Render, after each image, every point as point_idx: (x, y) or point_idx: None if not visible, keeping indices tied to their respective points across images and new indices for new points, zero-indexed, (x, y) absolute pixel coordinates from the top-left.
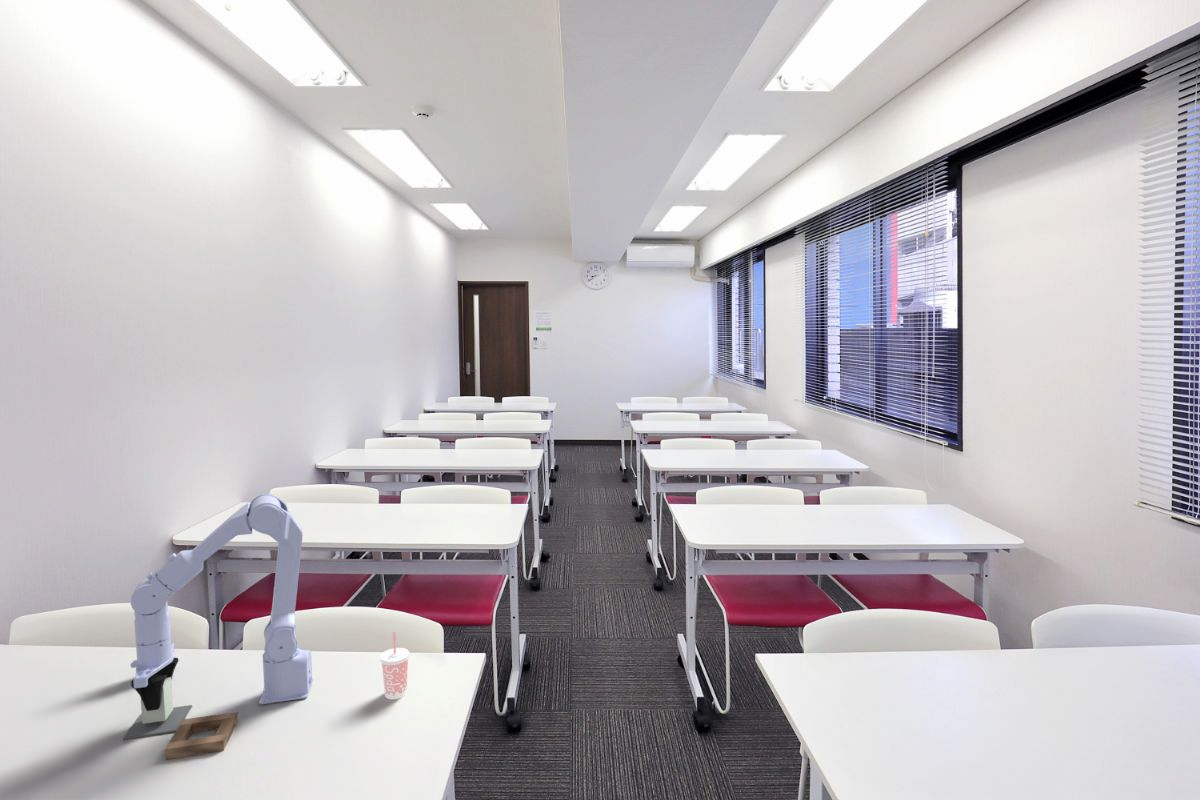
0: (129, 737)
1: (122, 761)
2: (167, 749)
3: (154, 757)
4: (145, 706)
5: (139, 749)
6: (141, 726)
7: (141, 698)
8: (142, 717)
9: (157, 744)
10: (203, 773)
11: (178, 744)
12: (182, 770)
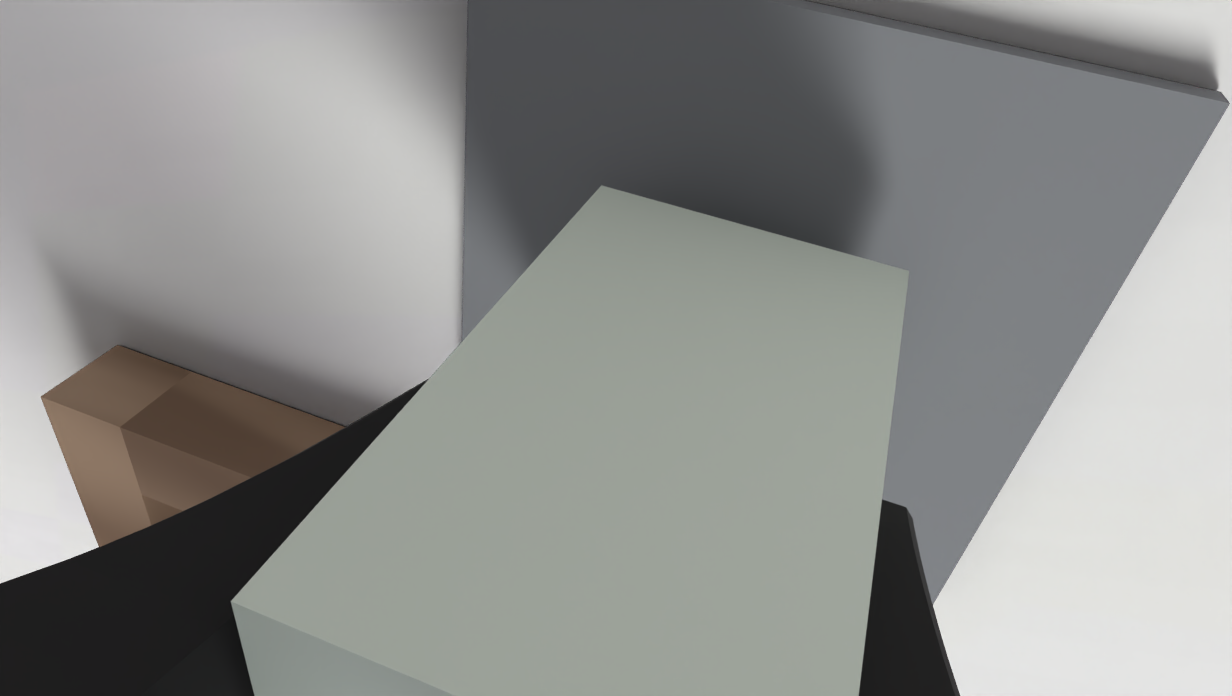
0: (469, 20)
1: (93, 20)
2: (52, 407)
3: (144, 276)
4: (398, 401)
5: (262, 152)
6: (681, 139)
7: (238, 485)
8: (558, 235)
9: (316, 294)
10: (14, 494)
11: (97, 475)
12: (26, 418)
